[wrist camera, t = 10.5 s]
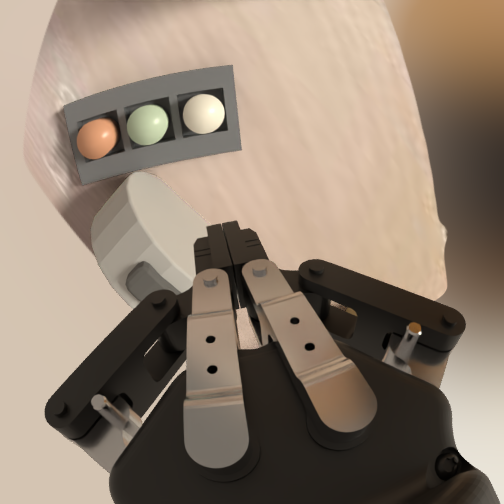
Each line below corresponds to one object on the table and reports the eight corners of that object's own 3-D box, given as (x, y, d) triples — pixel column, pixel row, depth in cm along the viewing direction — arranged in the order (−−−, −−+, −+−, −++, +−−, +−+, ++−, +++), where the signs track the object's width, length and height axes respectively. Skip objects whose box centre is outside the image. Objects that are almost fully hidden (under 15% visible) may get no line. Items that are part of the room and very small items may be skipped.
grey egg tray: (71, 104, 30) (63, 105, 27) (229, 66, 33) (232, 64, 30) (88, 179, 37) (82, 185, 34) (238, 146, 39) (241, 150, 37)
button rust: (84, 123, 31) (73, 127, 27) (116, 112, 32) (108, 115, 28) (91, 155, 34) (81, 163, 30) (123, 146, 34) (116, 153, 31)
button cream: (181, 97, 33) (180, 98, 29) (218, 91, 34) (222, 91, 30) (186, 132, 36) (186, 137, 32) (222, 125, 36) (226, 130, 33)
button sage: (130, 109, 32) (123, 111, 28) (166, 100, 33) (163, 101, 29) (137, 143, 35) (131, 149, 31) (171, 134, 35) (170, 140, 32)
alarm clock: (108, 194, 39) (64, 271, 22) (139, 158, 37) (105, 216, 21) (203, 272, 50) (217, 364, 34) (234, 245, 48) (263, 333, 32)
